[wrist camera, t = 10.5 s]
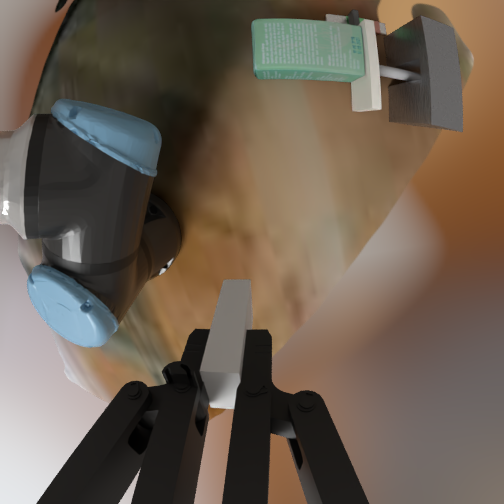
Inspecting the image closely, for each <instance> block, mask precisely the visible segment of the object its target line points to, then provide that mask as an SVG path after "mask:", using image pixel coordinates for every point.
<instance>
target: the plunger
mask: <svg viewBox="0 0 504 504" xmlns="http://www.w3.org/2000/svg"><path fill="white" fill-rule="evenodd" d="M348 19H349V24H350V25H356V26H361V28H362V38H363V50H364V66H365V76H363V77H360V78H358V79H356V80H355V81H353V82H351V90H352V111H359V112H362V111H372V110H381V87H380V76H384V77H389V78H394V79H399V80H404V81H409V82H410V81H415V80H420V79H421V74H419V73H415V72H411V71H407V70H403V69H398V68H393V67H388V66H383V65H379V60H378V50H377V42H376V34H375V27H374V21H372V20H367V19H364V20H363V21H362V22H361V23H360V20H359V14H358V10H352V11H351V12H350V13H349V14H348Z"/></svg>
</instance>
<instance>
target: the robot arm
mask: <svg viewBox="0 0 504 504" xmlns="http://www.w3.org/2000/svg"><path fill="white" fill-rule="evenodd" d="M51 113H52V114H34V115H33V116H32V117H30V118H29V119H28V120H27V121H26V122H25V123H24V124H23V125H22V126H21V127H20V128H18V129H17V130H14V131H0V224H9V225H11V226H13V227H14V229H15V230H16V231H17V232H18V233H19V234H20V236H21V237H22V238H23V239H37V238H39V239H40V238H42V253H43V259H42V262H41V264H40V265H38V266H35V267H34V268H33V270H32V273H31V274H30V275H29V277H28V280H27V289H28V294H29V297H30V299H31V302H32V304H33V305H34V307H35V309H36V310H37V312H38V313H39V314H40V316H41V317H42V318H43V320H44V321H46V323H47V324H48V325H49V326H50V327H51V328H52V329H53V330H54V331H56V332H57V333H58V334H59V335H61V336H62V337H64V338H65V339H67V340H69V341H71V342H73V343H75V344H77V345H80V346H84V347H99V346H102V345H103V344H105V343H106V342H107V341H108V339H109V338H110V337H111V336H112V334H113V333H114V332H116V331H117V329H118V326H119V324H120V322H121V321H122V319H123V317H124V316H125V314H126V313H127V311H128V309H129V308H130V306H131V305H132V303H133V302H134V300H135V299H136V297H137V296H138V294H139V292H140V291H141V289H142V288H143V286H144V285H145V283H146V282H147V281H149V280H151V279H153V278H155V277H157V276H159V275H161V274H162V273H164V272H165V271H166V270H167V269H168V268H169V267H170V266H171V265H172V263H173V262H174V260H175V259H176V257H177V255H178V253H179V250H180V246H181V231H180V227H179V223H178V221H177V218H176V216H175V215H174V213H173V211H172V210H171V209H170V207H169V206H168V205H167V204H166V203H165V202H164V201H163V200H162V199H160V198H159V197H157V196H156V195H154V194H152V193H151V189H152V185H153V181H154V177H155V176H156V175H157V170H156V166H157V161H158V157H159V152H160V148H161V143H162V138H161V134H160V132H159V130H158V129H157V128H156V127H155V126H154V125H153V124H151V123H149V122H147V121H145V120H143V119H140V118H138V117H135V116H132V115H129V114H127V113H124V112H120V111H117V110H114V109H110V108H107V107H103V106H99V105H95V104H91V103H87V102H81V101H74V100H69V99H59V100H58V101H56V103H55V104H54V106H53V107H52V108H51ZM252 321H253V313H252V297H251V280H224V281H223V284H222V288H221V292H220V295H219V299H218V303H217V306H216V310H215V314H214V318H213V321H212V325H211V329H195V330H194V331H193V332H192V333H191V334H190V335H189V337H188V340H187V343H186V344H187V345H186V346H185V349H184V352H183V355H182V358H181V361H176V362H172V363H170V364H168V365H167V366H165V367H164V369H163V370H162V374H163V376H164V378H165V380H166V384H164V385H160V386H153V387H147V385H146V384H144V383H143V382H140V381H131V382H129V383H127V384H125V385H124V386H123V387H122V388H121V390H120V391H119V392H118V394H117V395H116V396H115V397H114V399H113V400H112V401H111V403H110V404H109V405H108V407H107V408H106V409H105V411H104V412H103V413H102V415H101V416H100V417H99V418H98V420H97V421H96V422H95V424H94V425H93V426H92V428H91V429H90V430H89V432H88V433H87V434H86V436H85V437H84V439H83V440H82V441H81V443H80V444H79V445H78V447H77V448H76V449H75V451H74V452H73V453H72V455H71V456H70V457H69V459H68V460H67V462H66V463H65V464H64V466H63V467H62V469H61V470H60V471H59V473H58V474H57V475H56V477H55V478H54V479H53V481H52V482H51V484H50V485H49V487H48V488H47V489H46V491H45V492H44V494H43V495H42V496H41V498H40V499H39V501H38V502H37V504H118V503H119V502H120V500H121V499H122V497H123V495H124V494H125V492H126V490H127V489H128V487H129V486H130V484H131V483H132V481H133V479H134V478H135V476H136V475H137V473H138V471H139V469H140V468H141V470H140V473H139V476H138V480H137V484H136V487H135V491H134V494H133V498H132V502H131V504H194V499H195V493H196V488H197V482H198V476H199V470H200V465H201V459H202V454H203V448H204V442H205V437H206V431H207V426H208V421H209V413H208V405H209V403H210V406H211V407H213V408H227V409H234V414H233V422H232V430H231V438H230V445H229V453H228V461H227V469H226V477H225V484H224V492H223V501H222V504H268V488H269V486H268V485H269V464H270V463H269V462H270V434H271V433H272V434H276V435H280V436H283V437H286V438H287V442H288V445H289V448H290V451H291V454H292V457H293V460H294V463H295V467H296V470H297V473H298V476H299V479H300V482H301V485H302V488H303V491H304V494H305V497H306V500H307V503H308V504H369V502H368V500H367V498H366V495H365V493H364V491H363V489H362V486H361V484H360V482H359V479H358V477H357V475H356V473H355V471H354V468H353V466H352V464H351V461H350V459H349V457H348V454H347V452H346V450H345V448H344V446H343V443H342V441H341V439H340V436H339V434H338V432H337V430H336V427H335V425H334V423H333V421H332V418H331V416H330V414H329V411H328V409H327V407H326V405H325V403H324V400H323V399H322V397H321V396H320V395H319V394H317V393H316V392H313V391H309V390H306V391H300V392H298V393H295V394H290V393H286V392H283V391H281V390H279V389H277V388H276V387H275V386H274V384H273V382H272V374H271V373H272V336H271V335H270V333H269V331H268V330H267V329H266V330H252Z"/></svg>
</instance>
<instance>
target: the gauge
mask: <svg viewBox="0 0 504 504" xmlns="http://www.w3.org/2000/svg"><path fill="white" fill-rule="evenodd" d="M359 20H360V23H361V22H362V21H363V20H364V19H362V18H359ZM367 20H368V19H367ZM325 21H328V22H336V23H344V24H349V19H348V16H339V15H331V14H326V15H325ZM372 21H373V20H372ZM374 27H375V34H378V35H379V34H380V35H384V36H385V35H386V28H385V24H384V23H380V22H378V21H374ZM384 44H385V53H386V63H387V66H388V67H393V68H398V69H403V70H407V71H411V72H415V73H419V74H421V79H420V80H415V81H410V82H406V83H401V84H397V85H393V86H389V87H388V91H389V122H395V123H401V124H407V125H413V126H421V127H430V128H438V129H446V130H453V131H460V132H463V105H462V87H461V75H460V66H459V58H458V51H457V45H456V40H455V34H454V29H453V28H452V27H450V26H447V25H445V24H443V23H440V22H437V21H435V20H432V19H430V18H427V17H424V16H421V15H420V16H419V17H417V18H415V19H413V20H412V21H410V22H408V23H407V24H405V25H403V26H402V27H400V28H399V29H397V30H395V31H394V32H392V33H391V34H389V35H388V36H386V37H384Z"/></svg>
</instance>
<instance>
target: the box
mask: <svg viewBox="0 0 504 504" xmlns="http://www.w3.org/2000/svg"><path fill="white" fill-rule="evenodd" d="M251 31H252V47H253V71H254V74H255V76H256V77H257V78H258V79H306V80H324V81H339V82H353V81H355V80H356V79H358V78H360V77H363V76H365V66H364V50H363V38H362V28H361V26H356V25H350V24H344V23H336V22H328V21H318V20H305V19H256V20H254V21H253V22H252V25H251Z"/></svg>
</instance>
